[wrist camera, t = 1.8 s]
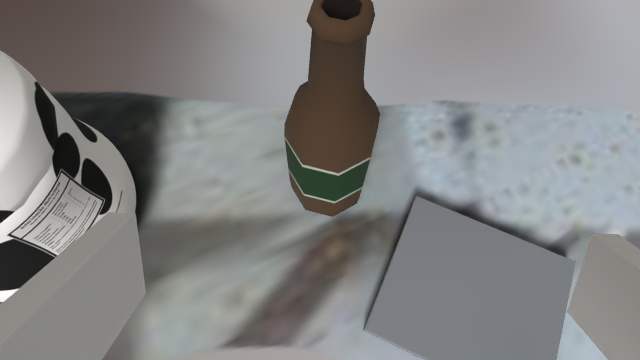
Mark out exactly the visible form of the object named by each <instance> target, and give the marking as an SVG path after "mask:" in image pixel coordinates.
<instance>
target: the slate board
mask: <svg viewBox="0 0 640 360" xmlns="http://www.w3.org/2000/svg"><path fill="white" fill-rule="evenodd" d="M574 266H575V261H573V260H571V259H568V258H566V257H563V256H561V255H558V254H556V253H554V252H551V251H549V250H546V249H544V248H541V247H539V246H537V245H534V244H532V243H529V242H527V241H524V240H522V239H520V238H517V237H515V236H512V235H510V234H508V233H505V232H503V231H500V230H498V229H495V228H493V227H491V226H488V225H486V224H483V223H481V222H478V221H476V220H474V219H471V218H469V217H466V216H464V215H461V214H459V213H457V212H454V211H452V210H449V209H447V208H445V207H442V206H440V205H437V204H435V203H432V202H430V201H428V200H425V199H423V198H420V197H418V196H416V198H415V199H414V201H413V203H412V206H411V208H410V211H409V213H408V216H407V219H406V221H405V224H404V226H403V229H402V232H401V234H400V237H399V239H398V242H397V244H396V247H395V250H394V252H393V255H392V257H391V260H390V263H389V265H388V268H387V270H386V273H385V275H384V278H383V281H382V283H381V286H380V288H379V291H378V294H377V296H376V299H375V301H374V304H373V306H372V309H371V312H370V314H369V317H368V319H367V322H366V325H365V327H364V330H363V331H366V332H368V333H370V334H372V335H374V336H376V337H378V338H380V339H382V340H384V341H386V342H389V343H391V344H393V345H395V346H397V347H399V348H401V349H403V350H405V351H407V352H409V353H412V354H414V355H416V356H418V357H420V358H422V359H424V360H556V359H557V353H558V348H559V343H560V338H561V333H562V328H563V323H564V317H565V312H566V307H567V302H568V297H569V292H570V286H571V281H572V276H573V271H574Z"/></svg>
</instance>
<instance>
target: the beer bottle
mask: <svg viewBox="0 0 640 360" xmlns="http://www.w3.org/2000/svg"><path fill="white" fill-rule="evenodd" d="M374 17H375V13H374V7H373V3H372V1H371V0H314V1H313V4H312V6H311V9H310V12H309V15H308V18H307V22H308V24H309V25H310V27H311V28H312V37H311V50H310V64H309V75H308V81H307V82H306V83H304V84H302V85H301V86H300V87H299V89H298V90H297V92H296V94H295V96H294V99H293V102H292V105H291V108H290V111H289V113H288V116H287V119H286V122H285V134H284V136H285V144H286V152H287V160H288V168H289V176H290V182H291V186H292V188H293V190H294V192H295V193H296V195H297V197H298V198H299V200H300V202H301V203H302V205H303V207H304V208H305V210H309V211H313V212H317V213H320V214H324V215H328V216H332V217H333V216H335V215H336V214H338V213H340V212H342V211H344V210H346V209H347V208H349V207H351V206H353V205H355V204H357V201H358V199H359V196H360V193H361V189H362V186H363V182H364V179H365V175H366V172H367V168H368V165H369V161H370V158H371V153H372V149H373V145H374V141H375V137H376V133H377V129H378V123H379V116H380V113H379V111H378V108H377V105H376V103H375V102H374V100H373V99H372V98H371V96H370V95H369V94H368V92H367V91H366V90H365V88H364V79H363V77H364V65H365V53H366V42H367V35H369V34H370V31H371V27H372V24H373V20H374Z"/></svg>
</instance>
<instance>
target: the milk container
mask: <svg viewBox="0 0 640 360" xmlns="http://www.w3.org/2000/svg"><path fill="white" fill-rule="evenodd" d="M135 208H136V190H135V184H134V180H133V178H132V175H131V172H130V170H129V168H128V166H127V164H126V162H125V160H124V158H123V157H122V155H121V154H120V152H119V151H118V150H117V148H116V147H115V146H114V145H113V144H112V143H111V142H110V141H109V140H108V139H107V138H106V137H105V136H104V135H102V134H101V133H100V132H99V131H97V130H96V129H94V128H93V127H91V126H89V125H87V124H86V123H84V122H82V121H80V120H78V119H75V118H73V117H71V116H70V115H69V114H68V113H67V112H66V110H65V109H64V108H63V107H62V106H61V105H60V104H59V103H58V101H57V100H56V99H55V98H54V97H53V96H52V95H51V94H50V93H49V92H48V91H47V90H46V89H45V88H44V87H42V86H41V85H40V84H39V83H38V82H37V80H36V79H35V78H34V77H33V76H32V75H31V74H30V73H29V72H28V71H27V70H26V69H25V68H24V67H22V66H21V65H20V64H19V63H17V62H16V61H15V60H14V59H12V58H11V57H9V56H8V55H6V54H5V53H3V52H1V51H0V302H4V301H5V300H6V299H8V298H9V297H10V296H11V295H12V294H13V293H15V292H16V291H17V290H18V289H19V288H20V287H22V286H23V285H24V284H25V283H26V282H27V281H29V280H30V279H31V278H32V277H33V276H34V275H36V274H37V273H38V272H39V271H40V270H42V269H43V268H44V267H45V266H46V265H47V264H49V263H50V262H51V261H52V260H53V259H54V258H56V257H57V256H58V255H59V254H60V253H61V252H63V251H64V250H65V249H66V248H67V247H68V246H70V245H71V244H72V243H73V242H74V241H75V240H77V239H78V238H79V237H80V236H81V235H83V234H84V233H85V232H86V231H87V230H88V229H90V228H91V227H92V226H93V225H94V224H95V223H97V222H98V221H99V220H100V219H101V218H102V217H104V216H105V215H106V214H107V213H108V212H117V213H135Z"/></svg>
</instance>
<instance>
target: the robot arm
mask: <svg viewBox="0 0 640 360" xmlns="http://www.w3.org/2000/svg"><path fill="white" fill-rule="evenodd" d="M145 295H146V291H145V283H144V275H143V267H142V260H141V252H140V244H139V236H138V228H137V220H136V213H117V212H108V213H107V214H106V215H105V216H104V217H102V218H101V219H100V220H99V221H98V222H97V223H95V224H94V225H93V226H92V227H91V228H90V229H88V230H87V231H86V232H85V233H84V234H83V235H81V236H80V237H79V238H78V239H77V240H75V241H74V242H73V243H72V244H71V245H70V246H68V247H67V248H66V249H65V250H64V251H63V252H61V253H60V254H59V255H58V256H57V257H56V258H54V259H53V260H52V261H51V262H50V263H49V264H47V265H46V266H45V267H44V268H43V269H42V270H40V271H39V272H38V273H37V274H36V275H34V276H33V277H32V278H31V279H30V280H29V281H27V282H26V283H25V284H24V285H23V286H22V287H20V288H19V289H18V290H17V291H16V292H15V293H13V294H12V295H11V296H10V297H9V298H8V299H6V300H5V301H4V302H3V303H2V304H1V305H0V360H102V359H103V357H104V356H105V354H106V353H107V351H108V350H109V348H110V347H111V345H112V344H113V342H114V341H115V339H116V338H117V336H118V335H119V333H120V332H121V330H122V329H123V327H124V326H125V324H126V323H127V321H128V320H129V318H130V317H131V315H132V314H133V312H134V311H135V310H136V308H137V307H138V305H139V304H140V302H141V301H142V299H143V298H144V296H145ZM567 312H568V313H569V315H570V316H571V317H572V318H573V319H574V320H575V321H576V323H577V324H578V325H579V326H580V327H581V328H582V330H583V331H584V332H585V333H586V334H587V335H588V337H589V338H590V339H591V340H592V341H593V342H594V344H595V345H596V346H597V347H598V348H599V349H600V351H601V352H602V353H603V354H604V355H605V356H606V358H607V359H608V360H640V249H638V248H637V247H636V246H634V245H633V244H631V243H630V242H628V241H627V240H626V239H624V238H623V237H621V236H620V235H617V234H594V233H592V235H591V238H590V242H589V245H588V248H587V251H586V254H585V257H584V261H583V264H582V267H581V270H580V273H579V276H578V279H577V283H576V286H575V289H574V292H573V295H572V298H571V302H570V305H569V308H568V311H567Z"/></svg>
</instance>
